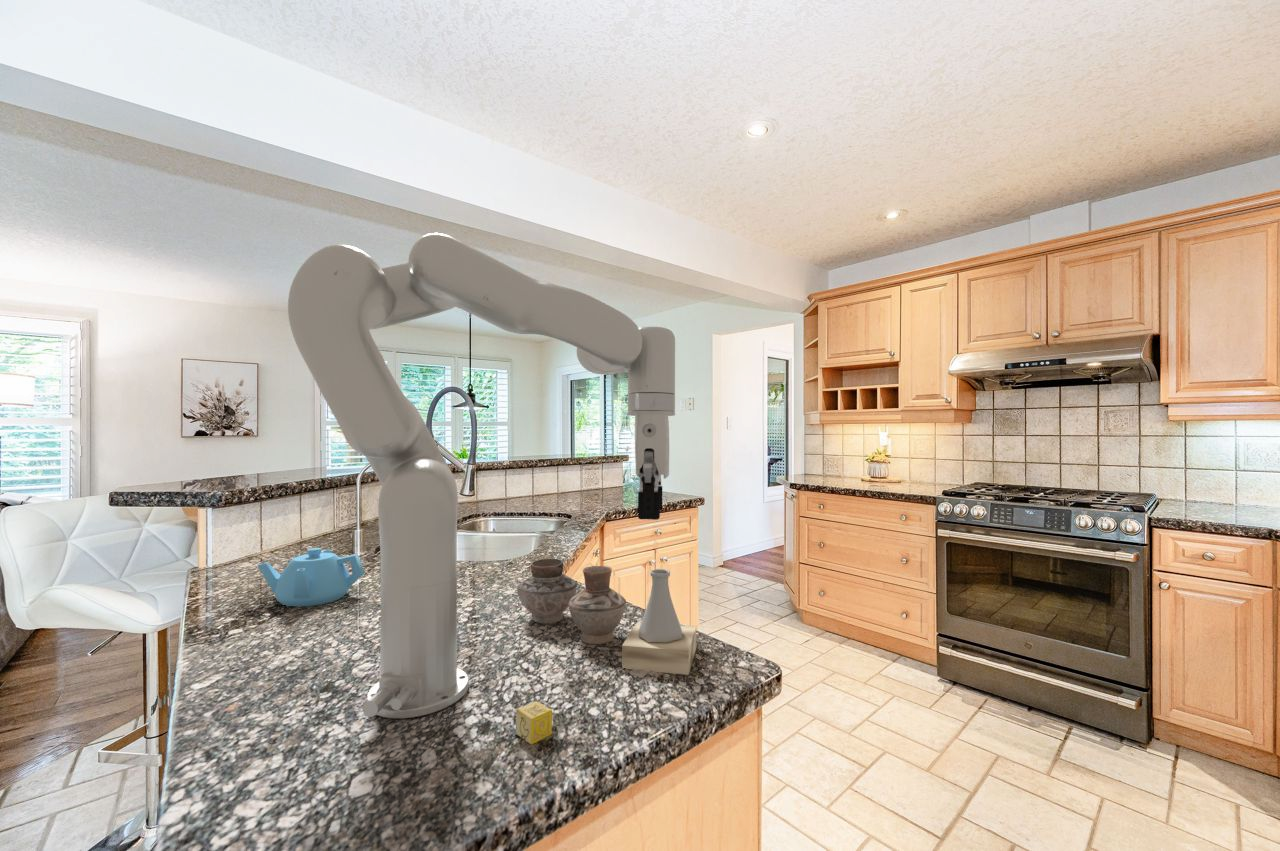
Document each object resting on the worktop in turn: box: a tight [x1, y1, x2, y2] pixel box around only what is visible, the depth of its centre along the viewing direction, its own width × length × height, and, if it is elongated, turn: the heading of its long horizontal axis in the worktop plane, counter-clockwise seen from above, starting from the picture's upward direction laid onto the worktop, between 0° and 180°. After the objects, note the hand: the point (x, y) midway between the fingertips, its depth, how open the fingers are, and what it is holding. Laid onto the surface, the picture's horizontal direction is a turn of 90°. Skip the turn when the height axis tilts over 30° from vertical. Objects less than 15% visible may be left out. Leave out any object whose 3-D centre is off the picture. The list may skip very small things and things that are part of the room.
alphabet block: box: [515, 700, 553, 745], centre depth 61 cm, size 3×3×3 cm
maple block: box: [621, 621, 698, 676], centre depth 81 cm, size 10×10×4 cm
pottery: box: [516, 558, 627, 645], centre depth 94 cm, size 11×25×12 cm, turn 47°
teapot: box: [257, 547, 366, 607], centre depth 112 cm, size 15×15×11 cm
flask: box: [638, 568, 682, 642], centre depth 82 cm, size 7×7×10 cm
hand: (650, 514), depth 82 cm, fingers open, 9 cm apart
